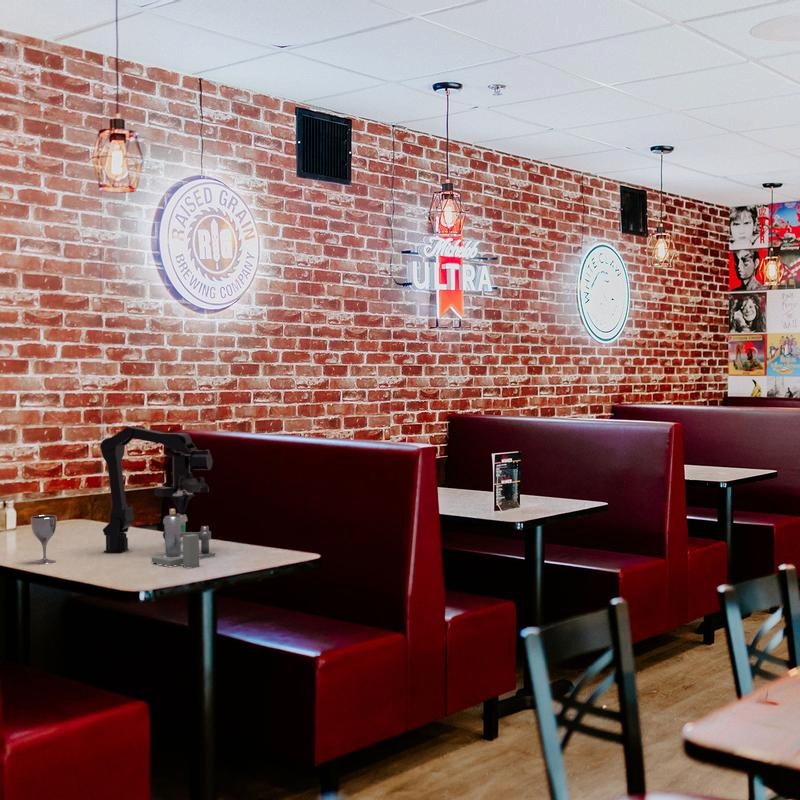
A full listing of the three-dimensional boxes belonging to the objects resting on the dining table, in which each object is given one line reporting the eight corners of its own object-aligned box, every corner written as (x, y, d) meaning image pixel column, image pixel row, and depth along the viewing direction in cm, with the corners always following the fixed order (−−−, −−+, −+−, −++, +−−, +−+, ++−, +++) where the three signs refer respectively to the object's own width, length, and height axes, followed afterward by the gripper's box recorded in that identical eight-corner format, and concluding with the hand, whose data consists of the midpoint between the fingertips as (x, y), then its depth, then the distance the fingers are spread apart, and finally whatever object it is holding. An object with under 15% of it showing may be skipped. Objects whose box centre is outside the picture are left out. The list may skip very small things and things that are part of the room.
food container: (179, 546, 357) (178, 518, 357) (163, 545, 358) (162, 517, 358) (193, 540, 369) (192, 513, 369) (177, 540, 370) (177, 513, 370)
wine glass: (62, 560, 331) (61, 515, 331) (46, 564, 324) (45, 518, 323) (42, 559, 334) (41, 514, 333) (26, 563, 326) (25, 517, 326)
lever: (161, 553, 336) (160, 527, 336) (165, 550, 340) (165, 525, 340) (208, 553, 334) (208, 527, 333) (212, 551, 338) (212, 525, 337)
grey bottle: (166, 558, 321) (165, 510, 321) (164, 555, 326) (163, 508, 325) (181, 556, 323) (180, 509, 322) (179, 554, 327) (178, 507, 327)
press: (151, 563, 324) (151, 532, 324) (205, 554, 340) (205, 525, 340) (180, 569, 313) (180, 537, 313) (235, 559, 329) (234, 529, 329)
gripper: (172, 473, 330) (173, 520, 330) (217, 469, 344) (218, 514, 344) (153, 471, 338) (153, 517, 338) (198, 467, 351) (199, 511, 352)
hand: (182, 515), depth 343 cm, fingers closed
